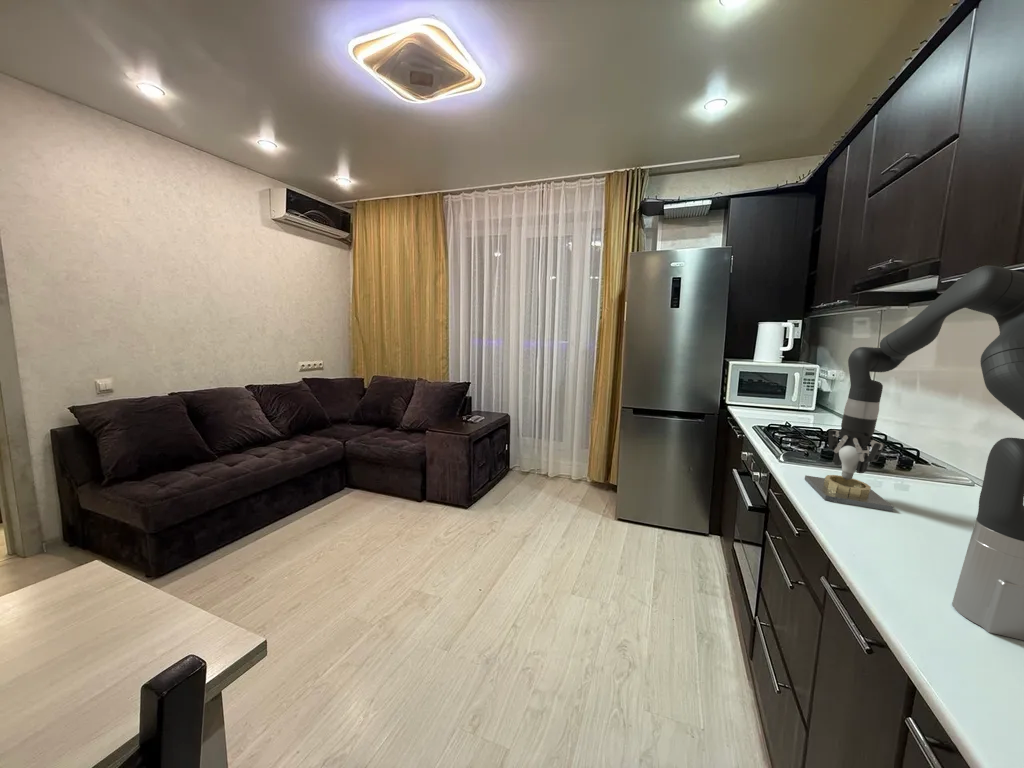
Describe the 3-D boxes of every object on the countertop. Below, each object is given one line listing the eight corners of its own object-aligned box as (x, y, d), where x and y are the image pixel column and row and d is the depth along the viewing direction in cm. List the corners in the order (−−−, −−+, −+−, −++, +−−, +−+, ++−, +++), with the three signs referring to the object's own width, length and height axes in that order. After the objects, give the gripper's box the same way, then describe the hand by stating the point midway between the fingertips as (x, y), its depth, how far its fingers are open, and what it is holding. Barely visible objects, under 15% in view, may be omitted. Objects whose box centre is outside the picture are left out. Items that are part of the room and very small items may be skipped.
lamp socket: (892, 511, 110) (895, 498, 109) (824, 500, 115) (827, 487, 114) (863, 488, 125) (866, 476, 124) (804, 479, 130) (806, 468, 129)
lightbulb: (863, 482, 118) (872, 447, 115) (852, 485, 115) (860, 449, 113) (840, 474, 123) (848, 441, 121) (829, 476, 121) (836, 442, 118)
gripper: (898, 421, 110) (884, 477, 113) (842, 408, 123) (832, 459, 126) (880, 422, 107) (866, 479, 111) (825, 409, 121) (815, 460, 124)
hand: (848, 468), depth 118 cm, fingers closed on lightbulb, 5 cm apart
